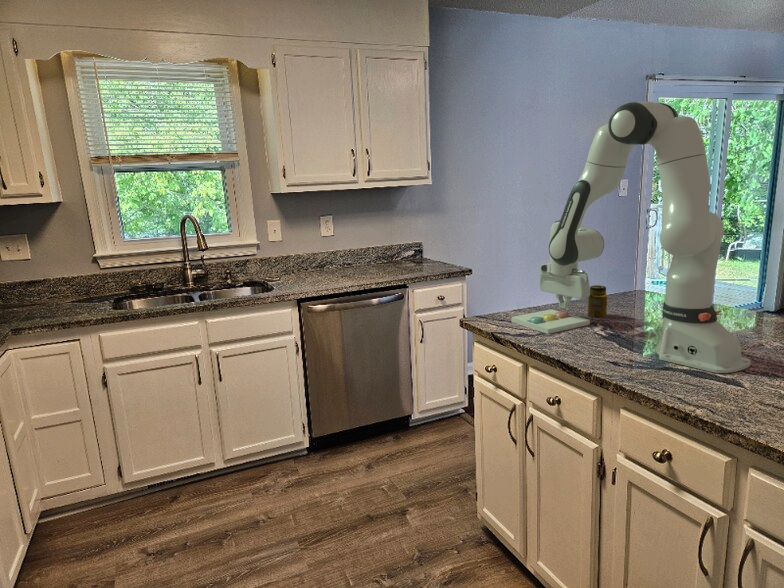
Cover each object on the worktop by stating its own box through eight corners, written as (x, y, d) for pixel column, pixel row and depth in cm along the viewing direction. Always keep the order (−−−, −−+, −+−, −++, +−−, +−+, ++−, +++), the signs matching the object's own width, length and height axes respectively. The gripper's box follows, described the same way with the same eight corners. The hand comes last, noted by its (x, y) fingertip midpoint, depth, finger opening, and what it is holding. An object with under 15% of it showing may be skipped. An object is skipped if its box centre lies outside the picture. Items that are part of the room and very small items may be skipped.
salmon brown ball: (571, 323, 175) (571, 313, 174) (561, 325, 173) (561, 315, 172) (562, 320, 179) (562, 311, 178) (552, 322, 177) (553, 312, 176)
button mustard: (558, 326, 173) (558, 316, 172) (549, 328, 171) (549, 318, 170) (549, 323, 176) (550, 313, 176) (540, 325, 175) (540, 315, 174)
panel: (589, 328, 170) (589, 319, 169) (547, 338, 162) (547, 329, 161) (551, 317, 185) (551, 309, 185) (511, 325, 178) (511, 317, 177)
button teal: (546, 328, 170) (546, 318, 170) (536, 330, 169) (536, 320, 168) (537, 325, 174) (537, 316, 173) (527, 328, 172) (527, 318, 172)
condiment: (610, 319, 179) (612, 285, 176) (600, 325, 173) (601, 290, 171) (590, 316, 184) (591, 283, 181) (579, 321, 178) (580, 288, 176)
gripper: (594, 269, 164) (594, 311, 167) (550, 263, 182) (550, 301, 185) (580, 272, 161) (579, 314, 164) (536, 265, 179) (536, 304, 182)
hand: (563, 307), depth 174 cm, fingers closed
